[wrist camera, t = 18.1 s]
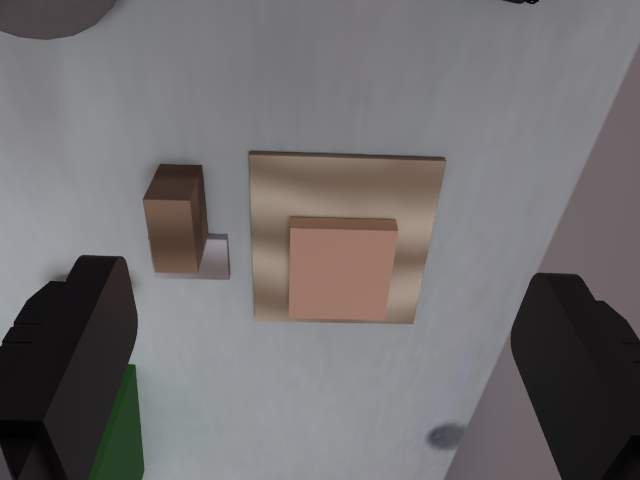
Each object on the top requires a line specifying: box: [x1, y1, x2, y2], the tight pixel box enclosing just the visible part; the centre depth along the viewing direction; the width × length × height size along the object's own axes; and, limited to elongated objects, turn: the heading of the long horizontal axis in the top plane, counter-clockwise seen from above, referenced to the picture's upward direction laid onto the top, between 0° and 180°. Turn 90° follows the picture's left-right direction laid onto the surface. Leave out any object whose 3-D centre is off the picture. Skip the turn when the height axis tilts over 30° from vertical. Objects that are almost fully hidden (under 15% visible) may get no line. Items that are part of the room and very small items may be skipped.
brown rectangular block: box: [143, 164, 230, 280], centre depth 39 cm, size 10×6×5 cm, turn 177°
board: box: [249, 151, 446, 324], centre depth 42 cm, size 16×14×1 cm
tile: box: [289, 217, 399, 320], centre depth 42 cm, size 2×8×9 cm
